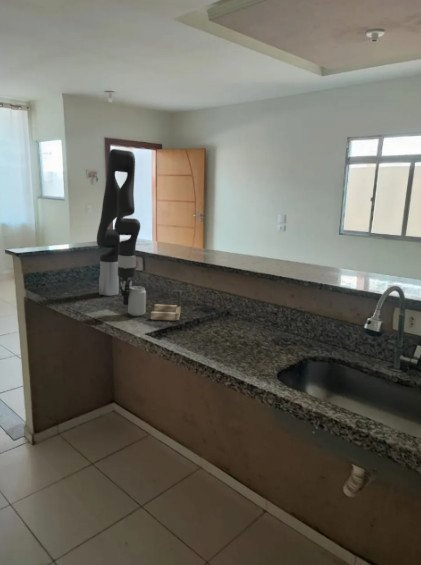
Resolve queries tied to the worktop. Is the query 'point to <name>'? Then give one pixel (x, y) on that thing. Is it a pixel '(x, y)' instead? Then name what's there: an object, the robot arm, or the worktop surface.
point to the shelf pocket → (167, 310)
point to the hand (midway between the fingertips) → (126, 304)
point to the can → (137, 301)
